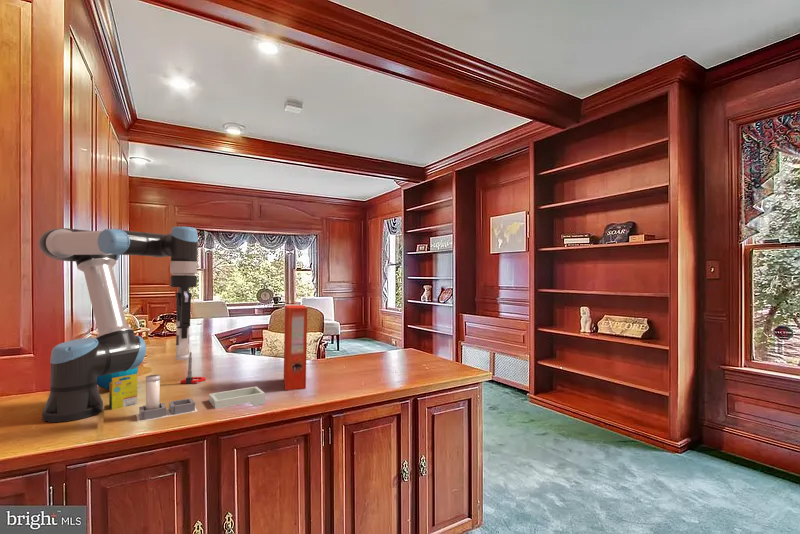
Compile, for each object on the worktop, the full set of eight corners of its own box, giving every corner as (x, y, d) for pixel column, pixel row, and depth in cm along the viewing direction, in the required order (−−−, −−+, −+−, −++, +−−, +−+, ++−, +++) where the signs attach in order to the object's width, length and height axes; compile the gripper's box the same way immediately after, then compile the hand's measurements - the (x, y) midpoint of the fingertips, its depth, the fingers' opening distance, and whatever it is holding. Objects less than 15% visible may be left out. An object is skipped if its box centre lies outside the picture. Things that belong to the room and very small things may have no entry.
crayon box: (134, 406, 134) (135, 372, 135) (137, 408, 132) (138, 373, 133) (108, 412, 129) (109, 376, 129) (111, 414, 127) (112, 378, 127)
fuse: (145, 418, 119) (146, 378, 119) (144, 414, 122) (145, 375, 122) (160, 415, 121) (160, 376, 122) (159, 412, 124) (159, 374, 125)
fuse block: (137, 427, 116) (137, 413, 116) (136, 419, 123) (136, 406, 123) (197, 415, 126) (198, 403, 126) (193, 409, 132) (193, 397, 132)
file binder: (302, 378, 173) (303, 304, 173) (306, 388, 156) (307, 307, 157) (283, 379, 170) (284, 305, 171) (285, 390, 154) (286, 308, 154)
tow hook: (189, 379, 172) (177, 384, 162) (190, 349, 172) (179, 352, 163) (208, 379, 172) (198, 384, 163) (210, 349, 173) (199, 352, 163)
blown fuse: (176, 360, 124) (177, 322, 125) (174, 358, 127) (175, 321, 128) (189, 359, 127) (190, 321, 127) (188, 356, 130) (188, 320, 130)
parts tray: (215, 413, 128) (215, 401, 128) (208, 405, 136) (209, 393, 136) (264, 403, 138) (264, 392, 138) (256, 396, 146) (256, 386, 146)
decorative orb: (82, 391, 152) (83, 352, 152) (125, 382, 165) (125, 346, 166) (103, 396, 145) (104, 355, 145) (145, 386, 158) (146, 349, 159)
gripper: (201, 275, 123) (200, 350, 123) (192, 274, 136) (191, 342, 136) (174, 274, 119) (172, 353, 118) (167, 274, 132) (166, 344, 132)
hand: (182, 347), depth 127 cm, fingers closed on blown fuse, 4 cm apart
